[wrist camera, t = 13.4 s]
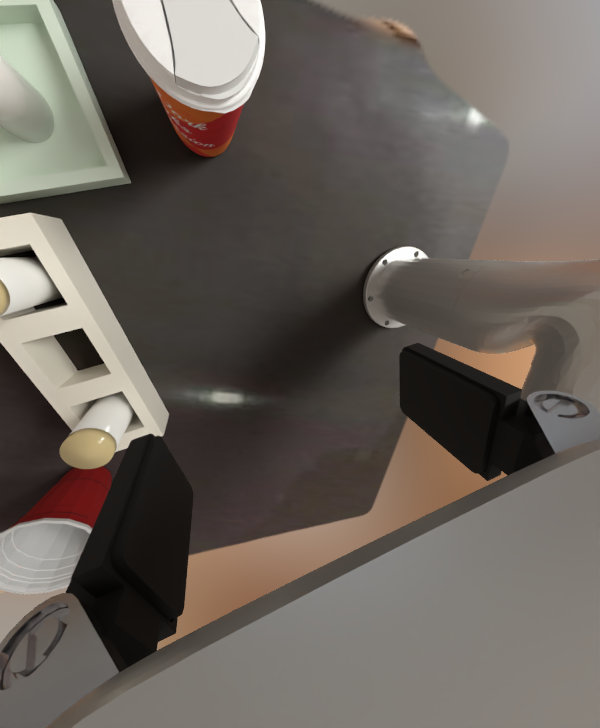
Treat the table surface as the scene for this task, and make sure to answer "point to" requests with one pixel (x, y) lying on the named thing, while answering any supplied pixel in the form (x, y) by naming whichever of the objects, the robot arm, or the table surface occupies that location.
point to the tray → (69, 106)
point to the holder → (82, 310)
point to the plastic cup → (53, 534)
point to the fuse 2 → (98, 433)
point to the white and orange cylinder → (23, 107)
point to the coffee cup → (198, 61)
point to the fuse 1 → (24, 284)
